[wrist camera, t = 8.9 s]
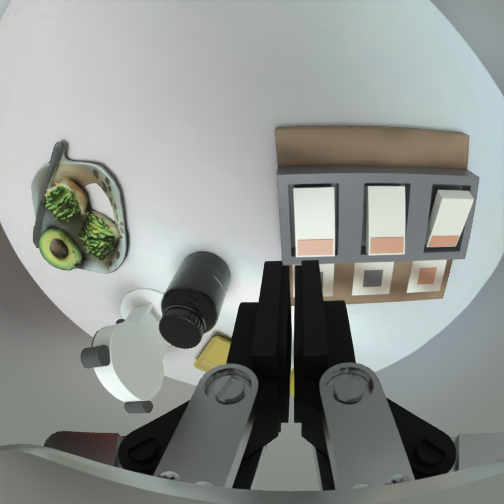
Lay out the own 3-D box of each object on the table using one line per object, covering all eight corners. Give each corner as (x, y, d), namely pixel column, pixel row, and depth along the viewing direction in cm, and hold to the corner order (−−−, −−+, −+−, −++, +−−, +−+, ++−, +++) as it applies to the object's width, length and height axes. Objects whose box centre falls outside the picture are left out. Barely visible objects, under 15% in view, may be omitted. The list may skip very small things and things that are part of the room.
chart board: (275, 127, 33) (275, 130, 31) (461, 132, 30) (470, 136, 28) (286, 296, 44) (285, 307, 42) (438, 290, 40) (443, 299, 38)
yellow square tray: (265, 350, 50) (264, 360, 48) (240, 377, 54) (238, 386, 52) (216, 326, 48) (213, 336, 46) (195, 357, 52) (192, 366, 51)
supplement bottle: (240, 267, 42) (223, 330, 32) (216, 301, 45) (196, 364, 35) (193, 240, 41) (161, 297, 31) (173, 277, 44) (141, 336, 34)
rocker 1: (293, 186, 32) (293, 188, 31) (332, 185, 32) (334, 187, 30) (295, 253, 34) (295, 257, 33) (333, 252, 34) (334, 256, 32)
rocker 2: (365, 186, 32) (368, 186, 30) (400, 186, 31) (405, 186, 30) (365, 252, 33) (368, 255, 32) (400, 251, 33) (405, 254, 31)
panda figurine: (106, 294, 48) (60, 361, 35) (162, 276, 44) (118, 352, 31) (146, 348, 52) (114, 417, 39) (201, 337, 49) (176, 416, 36)
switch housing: (277, 167, 33) (276, 175, 31) (466, 169, 30) (479, 177, 28) (283, 251, 38) (282, 264, 35) (455, 246, 35) (464, 258, 32)
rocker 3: (437, 189, 29) (442, 199, 28) (468, 190, 28) (474, 200, 27) (423, 238, 34) (426, 248, 33) (451, 237, 33) (456, 247, 32)
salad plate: (26, 140, 36) (6, 148, 32) (127, 139, 36) (109, 147, 32) (43, 255, 46) (27, 269, 42) (134, 273, 45) (121, 292, 41)
